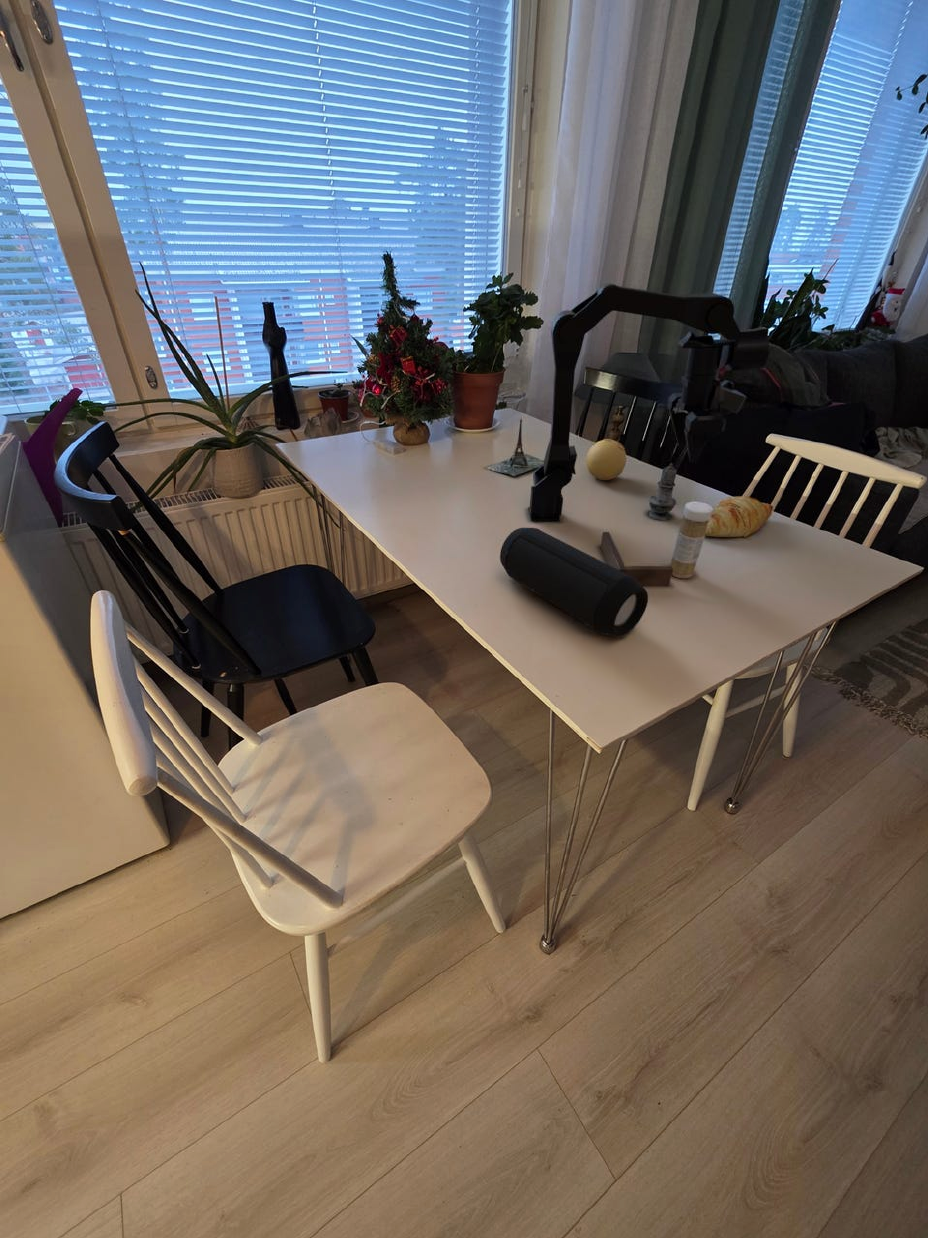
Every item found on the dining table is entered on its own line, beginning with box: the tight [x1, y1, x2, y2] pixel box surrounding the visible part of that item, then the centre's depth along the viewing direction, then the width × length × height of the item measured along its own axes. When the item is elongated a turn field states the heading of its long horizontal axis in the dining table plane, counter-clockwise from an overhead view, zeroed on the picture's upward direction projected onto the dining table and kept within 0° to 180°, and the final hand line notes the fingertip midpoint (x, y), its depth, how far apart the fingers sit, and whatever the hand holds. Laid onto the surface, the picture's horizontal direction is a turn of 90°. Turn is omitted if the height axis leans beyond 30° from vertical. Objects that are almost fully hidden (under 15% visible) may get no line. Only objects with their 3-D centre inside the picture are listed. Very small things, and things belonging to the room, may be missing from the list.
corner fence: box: [599, 531, 673, 587], centre depth 99 cm, size 9×14×4 cm, turn 0°
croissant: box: [705, 495, 774, 538], centre depth 111 cm, size 21×10×8 cm, turn 119°
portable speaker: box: [499, 527, 649, 638], centre depth 87 cm, size 26×10×10 cm, turn 38°
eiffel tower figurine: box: [486, 418, 544, 477], centre depth 139 cm, size 15×10×13 cm
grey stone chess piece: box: [646, 462, 678, 522], centre depth 115 cm, size 6×6×12 cm
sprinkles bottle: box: [669, 501, 714, 579], centre depth 94 cm, size 5×5×14 cm
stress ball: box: [585, 438, 627, 481], centre depth 133 cm, size 10×10×10 cm
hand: (687, 454), depth 108 cm, fingers open, 9 cm apart
